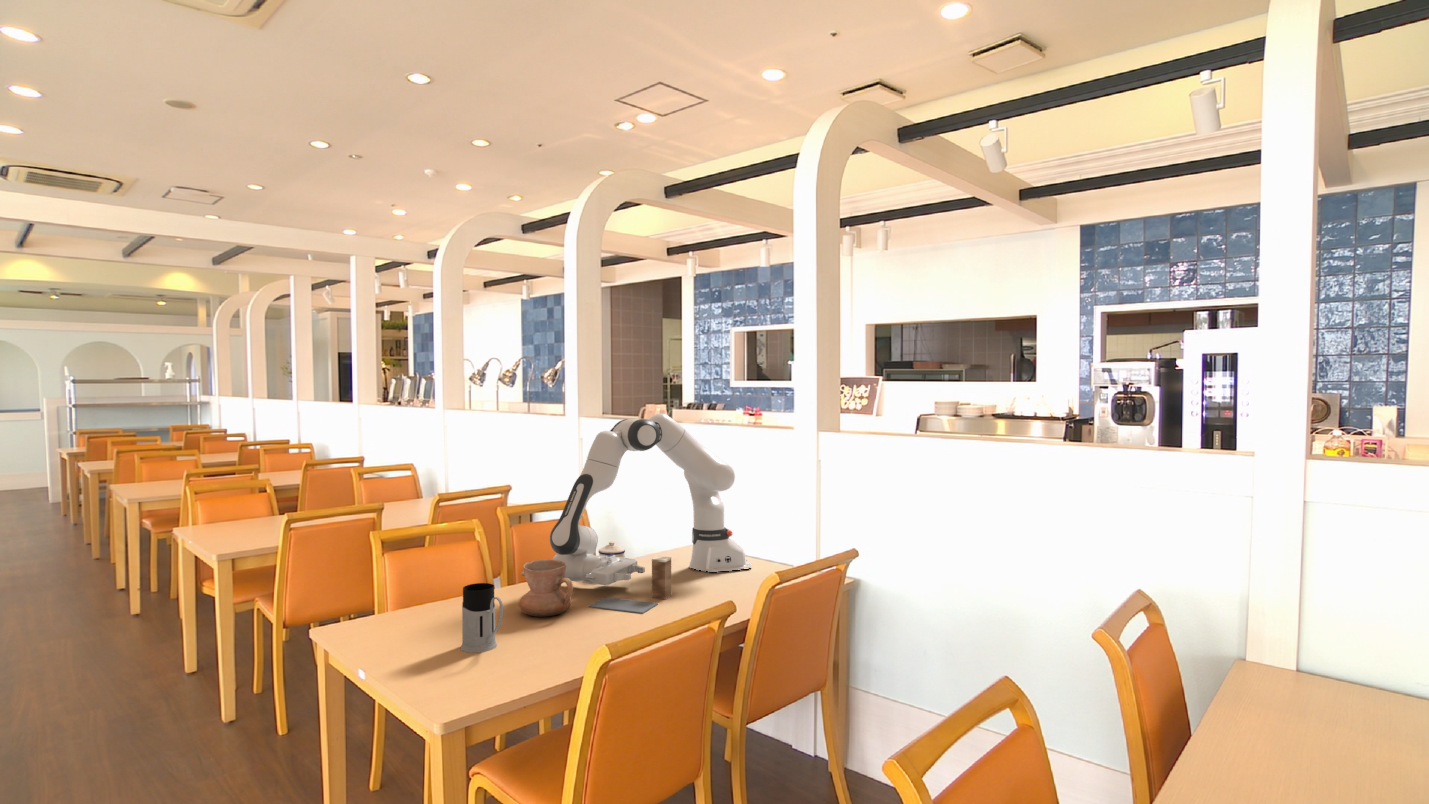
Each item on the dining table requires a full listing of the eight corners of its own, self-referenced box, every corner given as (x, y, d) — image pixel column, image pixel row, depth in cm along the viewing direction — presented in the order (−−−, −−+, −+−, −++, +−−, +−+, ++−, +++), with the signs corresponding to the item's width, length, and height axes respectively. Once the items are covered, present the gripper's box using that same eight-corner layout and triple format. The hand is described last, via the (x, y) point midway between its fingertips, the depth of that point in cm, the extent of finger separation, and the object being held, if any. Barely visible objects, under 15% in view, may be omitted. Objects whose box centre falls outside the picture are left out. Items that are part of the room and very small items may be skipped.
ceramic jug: (504, 615, 214) (504, 565, 214) (539, 601, 227) (539, 555, 227) (553, 626, 206) (554, 574, 205) (587, 611, 218) (587, 563, 218)
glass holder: (484, 638, 195) (483, 580, 194) (517, 650, 186) (517, 589, 185) (453, 647, 188) (453, 587, 188) (486, 660, 179) (486, 597, 178)
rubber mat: (588, 607, 222) (588, 605, 222) (605, 598, 231) (605, 597, 231) (643, 613, 216) (643, 612, 216) (658, 604, 225) (658, 603, 225)
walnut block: (651, 597, 232) (651, 559, 232) (658, 594, 236) (658, 556, 236) (665, 599, 230) (665, 560, 230) (671, 595, 235) (671, 557, 234)
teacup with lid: (615, 580, 253) (615, 545, 253) (593, 577, 257) (593, 543, 257) (634, 572, 264) (634, 539, 264) (612, 569, 268) (612, 537, 268)
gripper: (581, 567, 232) (621, 571, 227) (613, 553, 251) (651, 556, 246) (581, 587, 232) (621, 592, 227) (613, 572, 251) (651, 576, 246)
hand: (637, 573), depth 236 cm, fingers open, 8 cm apart
